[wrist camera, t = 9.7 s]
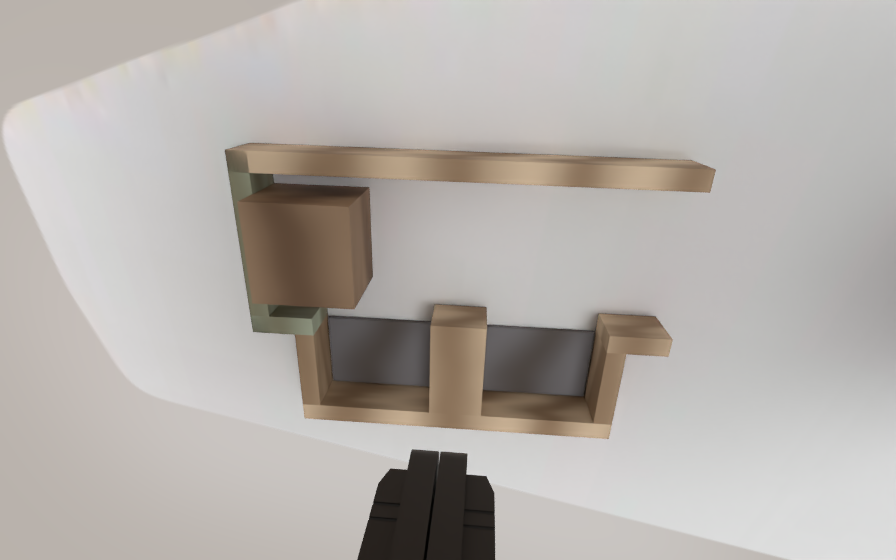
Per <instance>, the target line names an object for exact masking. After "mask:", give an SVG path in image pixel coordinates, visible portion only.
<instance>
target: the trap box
mask: <svg viewBox="0 0 896 560" xmlns="http://www.w3.org/2000/svg"><path fill="white" fill-rule="evenodd" d="M225 154H226V161H227V167H228V174H229V180H230V186H231V193H232V199H233V206H234V212H235V219H236V225H237V231H238V238H239V244H240V251H241V257H242V264H243V270H244V277H245V283H246V289H247V296H248V302H249V309H250V315H251V322H252V328H253V332H262V333H279V334H295V338H296V347H297V356H298V364H299V373H300V382H301V391H302V399H303V408H304V417H305V418H309V419H324V420H338V421H353V422H368V423H382V424H397V425H412V426H426V427H441V428H456V429H470V430H485V431H500V432H514V433H529V434H544V435H558V436H573V437H588V438H602V439H609V434H610V430H611V425H612V420H613V415H614V411H615V406H616V401H617V397H618V392H619V387H620V382H621V378H622V373H623V368H624V363H625V359H626V354H632V355H649V356H666V357H668V356H669V353H670V349H671V345H672V341H673V339H672V338H671V337H670V335H669V334H668V333H667V331H666V330H665V329H664V327H663V326H662V324H661V323H660V322H659V320H658V319H657V318H656V317H651V316H633V315H615V314H599V315H598V320H597V326H596V332H595V337H594V331H583V330H566V329H548V328H531V327H513V326H496V325H487V311H486V307H471V306H453V305H435V306H434V311H433V316H432V321H431V322H426V321H409V320H391V319H374V318H356V317H339V316H330V317H329V325H328V313H327V308H323V307H305V306H288V305H271V304H253V303H252V297H251V290H250V284H249V277H248V270H247V264H246V257H245V250H244V244H243V237H242V230H241V224H240V217H239V210H238V204H237V202H238V201H240V200H242V199H244V198H246V197H248V196H250V195H252V194H254V193H256V192H258V191H260V190H262V189H264V188H266V187H268V186H270V185H272V184H274V181H273V174H286V175H310V176H333V177H357V178H380V179H404V180H427V181H450V182H474V183H497V184H521V185H544V186H568V187H591V188H615V189H638V190H661V191H685V192H708V193H710V191H711V187H712V183H713V179H714V175H715V171H716V170H715V169H713V168H710V167H708V166H705V165H702V164H700V163H697V162H695V161H692V160H667V159H642V158H616V157H591V156H566V155H541V154H515V153H490V152H465V151H439V150H414V149H389V148H363V147H338V146H313V145H287V144H262V143H248V144H244V145H241V146H237V147H233V148H230V149H226V150H225ZM329 329H330V337H329ZM486 335H487V338H486ZM593 338H594V343H593ZM330 342H331V349H330ZM592 344H593V349H592ZM485 349H486V352H485ZM591 349H592V354H591ZM331 354H332V362H331ZM590 355H591V360H590ZM589 361H590V366H589ZM484 363H485V366H484ZM332 366H333V374H332ZM588 366H589V371H588ZM587 372H588V377H587ZM483 377H484V380H483ZM586 378H587V383H586ZM333 379H334V380H333ZM585 384H586V388H585ZM584 389H585V394H584ZM583 395H584V396H583Z"/></svg>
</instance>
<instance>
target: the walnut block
mask: <svg viewBox="0 0 896 560" xmlns="http://www.w3.org/2000/svg"><path fill="white" fill-rule="evenodd" d="M237 204H238V210H239V217H240V224H241V230H242V237H243V244H244V250H245V257H246V264H247V270H248V277H249V284H250V290H251V297H252V303H253V304H271V305H288V306H305V307H323V308H340V309H355V307H356V306H357V304H358V302H359V300H360V299H361V297H362V295H363V293H364V291H365V290H366V288H367V286H368V284H369V282H370V281H371V279H372V277H373V271H372V244H371V216H370V189H369V187H349V186H326V185H304V184H281V183H274V184H272V185H270V186H268V187H266V188H264V189H262V190H260V191H258V192H256V193H254V194H252V195H250V196H248V197H246V198H244V199H242V200H240V201H238V202H237Z"/></svg>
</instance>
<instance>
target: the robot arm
mask: <svg viewBox="0 0 896 560" xmlns="http://www.w3.org/2000/svg"><path fill="white" fill-rule="evenodd" d="M466 470H467V454H465V453H453V452H441V454H440V461H439V452H438V451H426V450H413V449H412V451H411V455H410V460H409V465H408V469H407V470H401V469H390V470H389V471H388V472H387V473H386V475H385V476H384V477H383V478H382V480H381V481H380V482H379V484H378V487H377V490H376V494H375V498H374V502H373V505H372V509H371V512H370V516H369V520H368V523H367V527H366V531H365V534H364V538H363V541H362V545H361V548H360V552H359V556H358V560H495V516H494V511H495V510H494V491H493V490H492V487H491V485H490V483H489V481H488V479H487V477H486V476H477V475H466Z"/></svg>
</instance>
